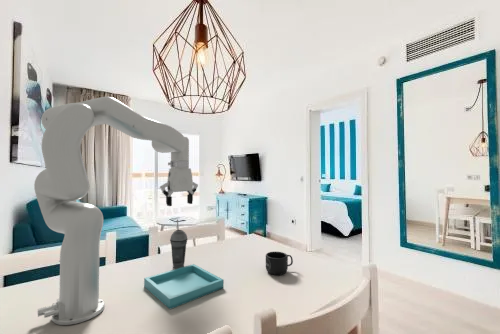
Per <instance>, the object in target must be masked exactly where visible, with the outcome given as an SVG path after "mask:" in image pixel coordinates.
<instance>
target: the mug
mask: <svg viewBox="0 0 500 334" xmlns="http://www.w3.org/2000/svg"><path fill="white" fill-rule="evenodd" d="M289 257H290V263H289V261H288V260H289ZM288 263H289V264H288ZM293 263H294V260H293V256H292V255H290V254H287V253H286V252H282V251H269V252H267V253H266V254H265V270H266V272H267V273H269V274H271V275H273V276H281V275H283V274H286V273H287V271H288V269H289V268H288V267H290V266H292V265H293Z"/></svg>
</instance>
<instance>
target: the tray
mask: <svg viewBox="0 0 500 334" xmlns="http://www.w3.org/2000/svg"><path fill="white" fill-rule="evenodd" d="M143 279H144V281H143V284H144V285H143V287H144V288H145V289H146V290H147V291H149V292H150V294H152V295H153V296H154V297H156V298H157V299H158V300H159V301H160V302H161V303H162V304H163V305H164V306H166V307H167V308H168V309H169V310H172V309H174V308H177V307H179V306H180V307H181V305H185V304H187V303H189V302H193V301H194V300H197V299H200V298H202V297H205V296H209V294H210V295H211V294H212V293H215V292H217V291H220V290H223V289H224V280H225V279H224V278H221V277H220V276H218V275H215V274H214V273H211V272H210V271H208V270H206V269H204V268H202V267H200V266H198V265H196V264H194V263H191V264H190V265H189V264H187V265H184V267H181V268H173V269H172V270H168V271H164V272H161V273H156V274H154V275H150V276H146V277H144V278H143Z"/></svg>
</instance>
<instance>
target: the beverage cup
mask: <svg viewBox="0 0 500 334" xmlns="http://www.w3.org/2000/svg"><path fill="white" fill-rule="evenodd" d="M176 227H177V228H176V229H177V230H175V231H174V232H173V233H172V234H171V236H170V239H169V241H170V246H171V258H172V268H173V269H178V268H181V267H185V261H186V249H187V244H188V236H187V233H186V231H184V230H182V229H179V219H176Z"/></svg>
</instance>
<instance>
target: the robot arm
mask: <svg viewBox="0 0 500 334" xmlns="http://www.w3.org/2000/svg"><path fill="white" fill-rule="evenodd" d="M41 124H42V127H44V129H45V130H44V133H43V135H42V139H41V152H42V153H41V154H42V158H43V161H44V166H45V169H43V170H41V171H40V172H39V173H38V175H36V177H35V180H34V184H33V185H34V186H33V187H34V193H35V196H36V201H37V202H38V206H39V209H40V212H41V215H42V217H43V218H42V219H43V220H44V222H45V225H46V226H47V227H48V229H50V230H51V231H53V232H56V233H58V234H63V235H64V237H63V240H62V243H61V247H60V250H59V252H60V253H59V293H58V295H59V296H58V297H59V298H56V302H54V303H52V305H49V306H43V307H40V308H37V317H42V316H43V318H44V319H45V318H49V317H51V321H52V322H53V323H54V324H55V325H59V326H69V325H71V326H72V325H75V324H80V323H83V322H86V321H88V320H90V319H93V318H95V317H96V316H99V314H101V312H103V310H104V309H105V307H106V306H105V303H106V302H105V301H104V299H102V298H100V243H101V236H102V235H101V234H102V232H103V226H104V215H103V212H102V211H101V209H100V208H99V207H97V206H96V205H94V204H91V203H87V202H79V201H77V200H80V199H83V198H85V196H86V195H88V194H89V191H90V182H89V181H90V180H89V177H88V173H87V170H86V167H85V163H84V159H83V154H82V148H81V145H82V141H83V138H84V137H85V135H86V134H87V132H88V131H89V130H91V129H92V128H93V127H96V126H101V125H107V126H109V127H112V128H114V129H116V130H118V131H120V132H121V133H123V134H125V135H127V136H129V137H131V138H133V139H137V140H143V141H150V142H151V146H152V149H153V150H154V151H156V152H157V153H162V154H164V153H165V154H166V153H170V162H168V163H167V166H169V167H170V168H168V169H169V170H168V174H167V182H165V183H163V184H162V185H160V186H159V188H160V190H161V193H162V194H163V195H164V197H165V202H166V203H165V205H166V206H168V207H172V206H173V197H172V194H173V193H178V192H180V193H181V192H182V193H183V192H187V193H188V194H187V199H186V200H187V201H186V203H187V204H189V205H192V204H193V201H194V197H193V196H194V195H195V193H196V191H197V189H198V187H199V184H198V183H196V182H194V181H193V173H192V169H191V168H190V165H189V164H190V140H189V138H188V137H187V136H185V135H183V134H182V133H181V132H180V131H178V130H177V129H176V128H174V127H172V126H171V125H168V124H166V123H163V122H160V121H157V120H155V119H151V118H148V117H146V116H144V115H142V114H140V113H139V112H137V110H136V111H135V110H134V109H132V108H131V107H130V106H128V105H126V104H124V103H123V102H121V101H120V100H118V99H116V98H114V97H111V96H100V97H98V98H92V99H88V100H83V101H80V102H71V103H65V104H64V103H63V104H61V105H58V106H57V105H55V106H53V107H52V106H51V107H49V108H48V109H46V110H45V111H44V112H43V113H42V115H41ZM166 188H167V189H166Z"/></svg>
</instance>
